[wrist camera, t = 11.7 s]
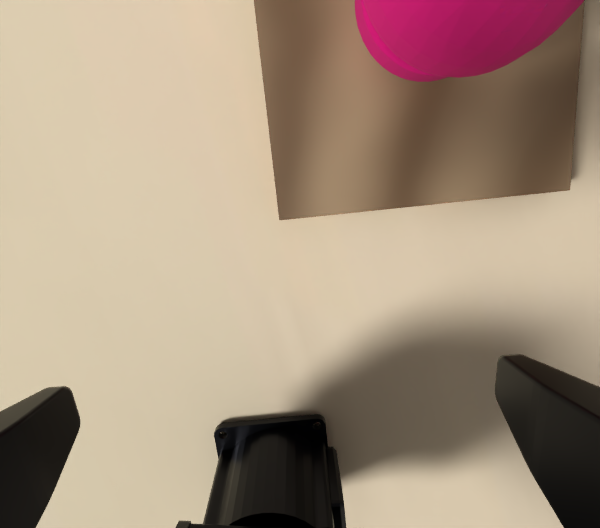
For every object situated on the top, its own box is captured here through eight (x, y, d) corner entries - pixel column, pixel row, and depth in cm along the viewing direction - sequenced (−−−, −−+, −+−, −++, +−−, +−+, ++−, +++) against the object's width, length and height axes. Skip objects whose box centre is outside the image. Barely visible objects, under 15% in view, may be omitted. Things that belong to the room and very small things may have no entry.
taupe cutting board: (280, 216, 21) (279, 220, 19) (242, -114, 17) (238, -134, 16) (554, 188, 20) (570, 190, 19) (577, -153, 17) (598, -175, 16)
